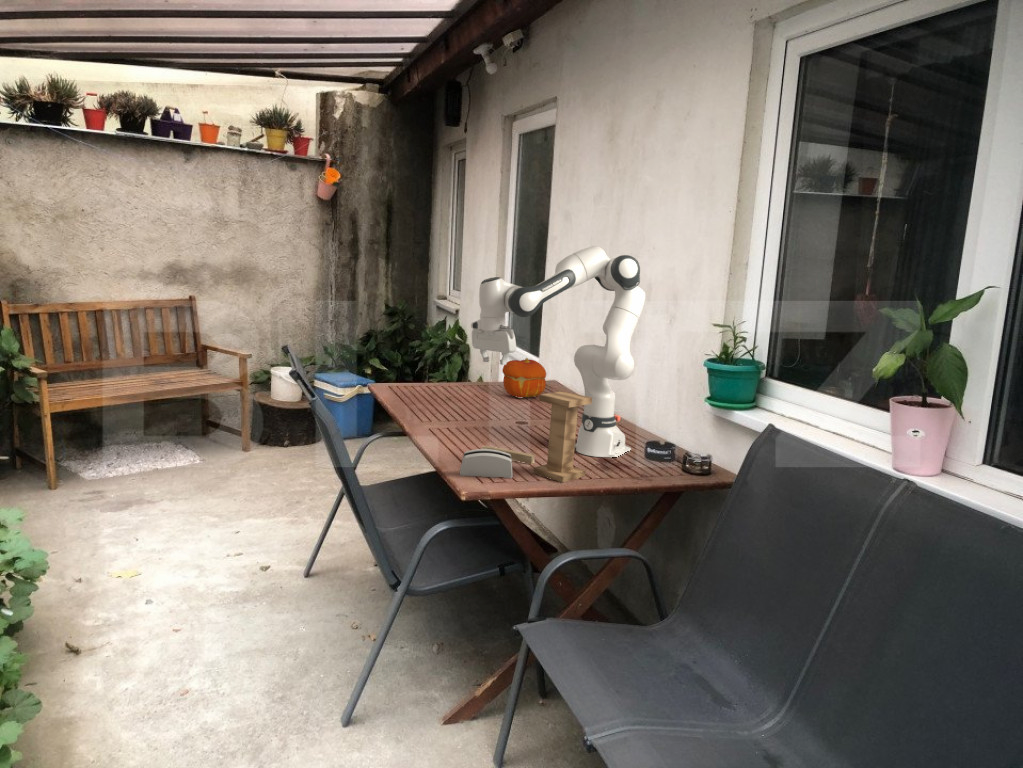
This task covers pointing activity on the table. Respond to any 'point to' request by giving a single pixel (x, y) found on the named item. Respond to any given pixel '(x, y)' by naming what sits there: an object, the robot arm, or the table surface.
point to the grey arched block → (486, 463)
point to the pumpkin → (524, 378)
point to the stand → (562, 436)
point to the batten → (515, 455)
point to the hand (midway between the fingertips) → (494, 363)
